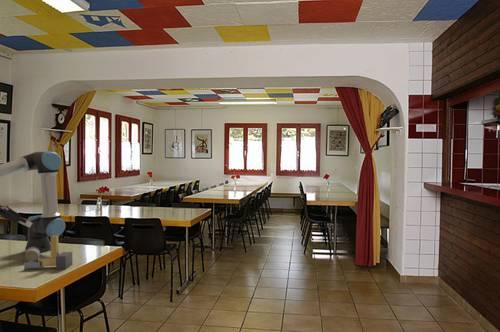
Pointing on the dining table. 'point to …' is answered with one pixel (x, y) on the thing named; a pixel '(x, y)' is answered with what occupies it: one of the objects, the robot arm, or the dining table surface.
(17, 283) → the dining table surface
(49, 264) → the t-shaped wooden piece
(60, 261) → the slotted grey block
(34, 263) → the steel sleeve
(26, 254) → the ceramic mug
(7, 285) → the dining table surface
